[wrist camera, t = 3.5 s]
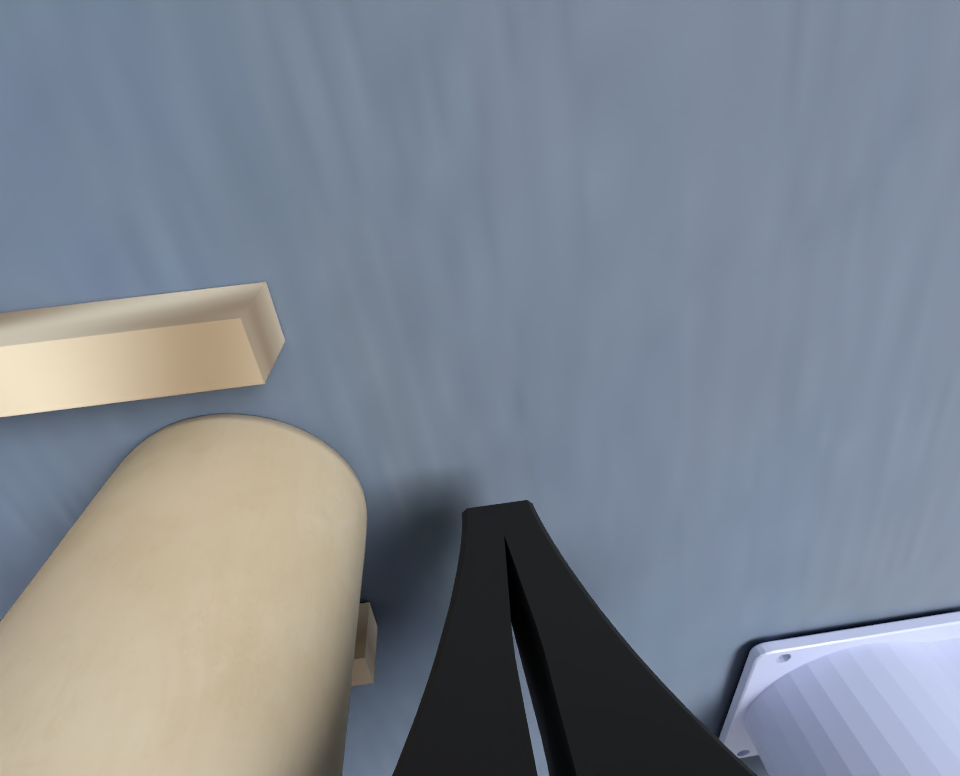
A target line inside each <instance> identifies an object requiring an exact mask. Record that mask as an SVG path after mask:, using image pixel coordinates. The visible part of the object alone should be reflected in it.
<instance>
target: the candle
mask: <svg viewBox="0 0 960 776" xmlns="http://www.w3.org/2000/svg"><path fill="white" fill-rule="evenodd" d="M366 531H367V508H366V501H365V496H364V492H363V489H362V486H361V484H360V482H359V479H358V478H357V476H356V474H355V473H354V471H353V469H352V468H351V467H350V466H349V464H348V463H347V462H346V461H345V460H344V458H342V457H341V456H340V455H339V454H338V453H337V452H336V451H335V450H334V449H333V448H331V447H330V446H329V445H327V444H326V443H324V442H323V441H322V440H320V439H318V438H317V437H315V436H313V435H311V434H309V433H308V432H306V431H303V430H301V429H299V428H296V427H294V426H292V425H289V424H286V423H283V422H280V421H276V420H273V419H268V418H263V417H258V416H251V415H242V414H215V415H205V416H199V417H194V418H189V419H185V420H182V421H179V422H176V423H173V424H171V425H169V426H167V427H165V428H162V429H160V430H158V431H157V432H155V433H154V434H152V435H151V436H149V437H148V438H146V439H145V440H144V441H143V442H141V443H140V444H139V445H138V446H137V447H136V448H135V449H134V450H133V451H132V452H130V453H129V454H128V455H127V456H126V457H125V459H124V460H123V461H122V462H121V464H120V465H119V466H118V467H117V469H116V470H115V471H114V472H113V474H112V475H111V476H110V477H109V479H108V480H107V481H106V482H105V484H104V485H103V486H102V488H101V489H100V490H99V492H98V493H97V494H96V496H95V497H94V498H93V500H92V501H91V502H90V504H89V505H88V506H87V508H86V509H85V510H84V512H83V513H82V514H81V516H80V517H79V518H78V520H77V521H76V522H75V524H74V525H73V526H72V528H71V529H70V530H69V532H68V533H67V534H66V535H65V537H64V538H63V539H62V541H61V542H60V543H59V545H58V546H57V547H56V549H55V550H54V551H53V553H52V554H51V555H50V557H49V558H48V559H47V561H46V562H45V563H44V565H43V566H42V567H41V569H40V570H39V571H38V573H37V574H36V575H35V577H34V578H33V579H32V581H31V582H30V583H29V585H28V586H27V587H26V589H25V590H24V591H23V593H22V594H21V595H20V597H19V598H18V599H17V601H16V602H15V603H14V604H13V606H12V607H11V608H10V610H9V611H8V612H7V614H6V615H5V616H4V618H3V619H2V620H1V622H0V776H342V769H343V760H344V750H345V740H346V730H347V721H348V711H349V701H350V691H351V682H352V672H353V662H354V652H355V643H356V633H357V623H358V613H359V604H360V594H361V584H362V574H363V565H364V555H365V544H366Z"/></svg>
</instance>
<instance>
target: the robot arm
mask: <svg viewBox="0 0 960 776" xmlns="http://www.w3.org/2000/svg"><path fill="white" fill-rule="evenodd" d="M511 623H512V627H513V631H514V635H515V638H516V642H517V646H518V650H519V654H520V658H521V662H522V665H523V669H524V673H525V677H526V681H527V685H528V688H529V692H530V696H531V700H532V704H533V708H534V711H535V715H536V719H537V723H538V727H539V731H540V734H541V738H542V743H543V747H544V752H545V756H546V761H547V765H548V771H549V776H757V775H756V774H755V773H754V772H752V771H751V770H750V769H749V768H748V767H747V766H746V765H745V764H744V763H743V762H742V761H741V760H740V759H739V758H744V757H750V756H756V755H759V756H760V758H761V760H762V762H763V764H764V766H765V768H766V770H767V772H768V774H769V776H960V611H958V612H951V613H945V614H939V615H933V616H926V617H920V618H914V619H907V620H901V621H895V622H889V623H882V624H876V625H870V626H863V627H857V628H851V629H845V630H838V631H832V632H826V633H819V634H813V635H807V636H800V637H794V638H788V639H782V640H775V641H769V642H764V643H760V644H758V645H756V646H755V647H753V648H752V649H751V651H750V653H749V655H748V658H747V661H746V664H745V667H744V669H743V672H742V675H741V678H740V681H739V684H738V686H737V689H736V692H735V695H734V698H733V700H732V703H731V706H730V709H729V712H728V714H727V717H726V720H725V723H724V726H723V728H722V731H721V734H720V737H719V739H718V738H717V737H716V736H715V735H714V734H713V733H712V732H711V731H710V730H709V729H708V728H707V727H706V726H705V725H704V724H703V723H702V722H700V721H699V720H698V719H697V718H696V717H695V716H694V715H693V714H692V713H691V712H690V711H689V710H688V709H687V708H686V707H685V705H684V704H683V703H682V702H681V701H680V700H679V699H678V698H677V697H676V696H675V695H674V694H673V693H672V692H671V691H670V690H669V689H668V688H667V687H666V686H665V684H664V683H663V682H662V681H661V680H660V679H659V678H658V677H657V676H656V675H655V674H654V672H653V671H652V670H651V669H650V668H649V667H648V666H647V665H646V664H645V662H644V661H643V660H642V659H641V658H640V657H639V656H638V655H637V653H636V652H635V651H634V650H633V649H632V648H631V646H630V645H629V644H628V643H627V642H626V640H625V639H624V638H623V637H622V636H621V634H620V633H619V632H618V631H617V630H616V628H615V627H614V626H613V625H612V623H611V622H610V621H609V620H608V618H607V617H606V616H605V615H604V613H603V612H602V611H601V610H600V608H599V607H598V606H597V604H596V603H595V602H594V600H593V599H592V598H591V596H590V595H589V594H588V592H587V591H586V589H585V588H584V587H583V585H582V584H581V582H580V581H579V580H578V578H577V577H576V575H575V574H574V573H573V571H572V570H571V568H570V567H569V565H568V564H567V562H566V561H565V560H564V558H563V557H562V555H561V553H560V552H559V550H558V549H557V547H556V545H555V544H554V542H553V541H552V539H551V537H550V536H549V534H548V532H547V531H546V529H545V527H544V525H543V524H542V522H541V520H540V518H539V516H538V514H537V512H536V510H535V508H534V506H533V504H532V503H531V502H529V501H528V500H524V501H517V502H510V503H502V504H495V505H488V506H481V507H474V508H467V509H466V510H465V511H464V512H463V513H462V539H461V548H460V555H459V561H458V567H457V573H456V578H455V582H454V587H453V592H452V596H451V601H450V606H449V610H448V614H447V618H446V621H445V625H444V628H443V632H442V635H441V639H440V643H439V646H438V650H437V653H436V657H435V660H434V663H433V666H432V670H431V673H430V676H429V679H428V682H427V685H426V688H425V691H424V694H423V697H422V699H421V702H420V705H419V708H418V711H417V714H416V716H415V719H414V722H413V724H412V727H411V730H410V732H409V735H408V737H407V740H406V742H405V745H404V748H403V750H402V753H401V755H400V758H399V760H398V763H397V765H396V768H395V770H394V773H393V775H392V776H537V771H536V766H535V760H534V755H533V750H532V745H531V740H530V734H529V729H528V724H527V719H526V713H525V708H524V703H523V697H522V692H521V687H520V681H519V676H518V671H517V665H516V660H515V653H514V645H513V637H512V627H511Z"/></svg>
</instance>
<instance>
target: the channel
mask: <svg viewBox="0 0 960 776" xmlns="http://www.w3.org/2000/svg"><path fill="white" fill-rule="evenodd" d="M284 342H285V339H284V336H283V333H282V330H281V327H280V324H279V321H278V318H277V314H276V311H275V308H274V305H273V302H272V299H271V296H270V293H269V290H268V287H267V283H266V282H261V283H253V284H244V285H236V286H227V287H219V288H210V289H201V290H193V291H184V292H176V293H167V294H159V295H150V296H142V297H133V298H125V299H116V300H107V301H99V302H90V303H82V304H73V305H65V306H56V307H48V308H39V309H31V310H22V311H13V312H5V313H0V417H6V416H14V415H22V414H30V413H38V412H46V411H54V410H62V409H69V408H77V407H85V406H93V405H101V404H109V403H117V402H125V401H133V400H141V399H148V398H156V397H164V396H172V395H180V394H188V393H196V392H204V391H212V390H219V389H227V388H235V387H243V386H251V385H259V384H265V382H266V380H267V378H268V376H269V373H270V371H271V369H272V367H273V365H274V363H275V361H276V359H277V357H278V355H279V353H280V351H281V348H282V346H283V344H284ZM377 629H378V627H377V624H376V621H375V618H374V615H373V612H372V608H371V605H370V602H367V603H360V604H359V613H358V623H357V633H356V643H355V652H354V662H353V672H352V682H351V686H358V685H364V684H371V683H374V675H375V660H376V644H377Z"/></svg>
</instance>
